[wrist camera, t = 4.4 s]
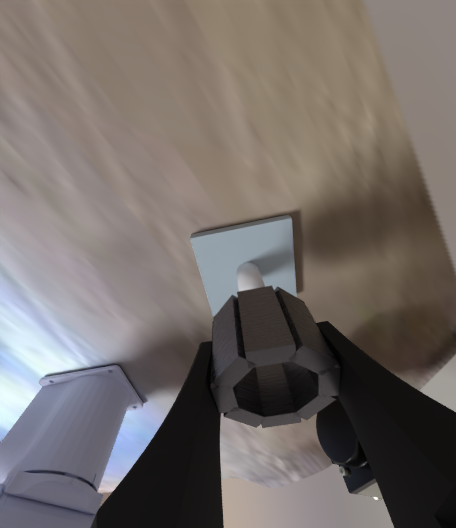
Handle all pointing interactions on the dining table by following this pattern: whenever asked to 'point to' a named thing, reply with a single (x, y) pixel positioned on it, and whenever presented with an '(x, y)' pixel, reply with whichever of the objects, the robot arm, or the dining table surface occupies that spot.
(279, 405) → the ring
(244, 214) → the dining table surface
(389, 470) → the robot arm
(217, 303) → the square plate with peg
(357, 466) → the pneumatic valve
